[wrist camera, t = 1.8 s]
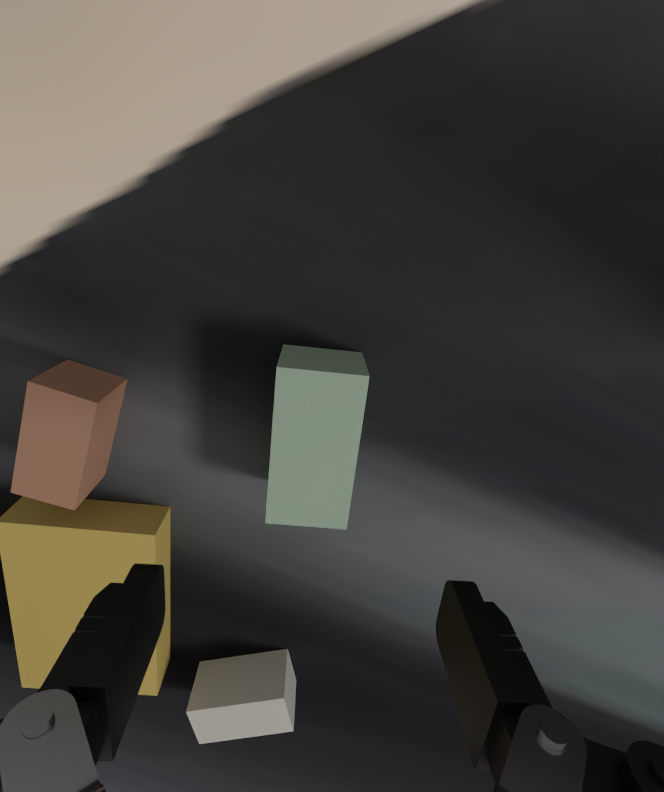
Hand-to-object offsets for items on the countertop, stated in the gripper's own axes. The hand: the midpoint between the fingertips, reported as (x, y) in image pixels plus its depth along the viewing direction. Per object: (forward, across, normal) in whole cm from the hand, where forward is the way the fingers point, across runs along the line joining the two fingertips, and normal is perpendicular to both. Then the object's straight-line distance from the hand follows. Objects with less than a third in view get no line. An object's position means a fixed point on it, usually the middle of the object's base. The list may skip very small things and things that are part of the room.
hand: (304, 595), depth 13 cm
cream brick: (+12, +3, +19) cm, 23 cm away
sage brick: (+12, 0, 0) cm, 13 cm away
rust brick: (+13, +12, +1) cm, 17 cm away
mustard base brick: (+13, +12, +12) cm, 21 cm away
